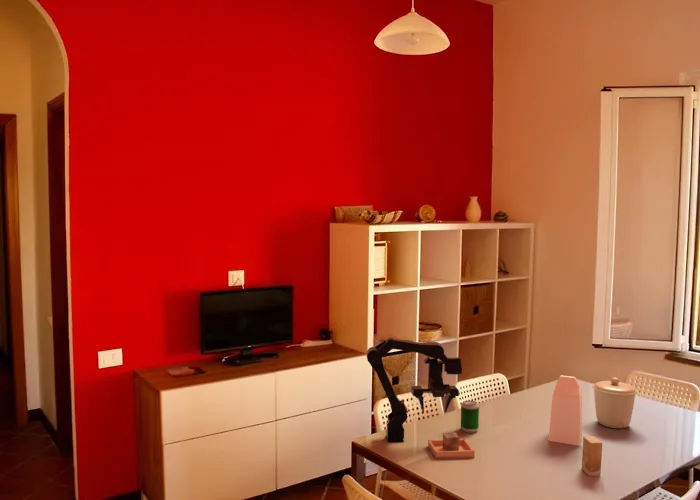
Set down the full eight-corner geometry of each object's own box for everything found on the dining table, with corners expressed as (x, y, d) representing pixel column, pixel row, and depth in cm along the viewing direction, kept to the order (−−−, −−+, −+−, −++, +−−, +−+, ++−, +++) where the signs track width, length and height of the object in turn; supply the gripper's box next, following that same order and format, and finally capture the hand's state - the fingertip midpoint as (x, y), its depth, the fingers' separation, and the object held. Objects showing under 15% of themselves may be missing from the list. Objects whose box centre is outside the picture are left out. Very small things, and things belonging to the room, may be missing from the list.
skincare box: (581, 468, 217) (582, 435, 216) (592, 468, 217) (593, 435, 216) (589, 476, 210) (591, 442, 210) (601, 476, 211) (602, 442, 210)
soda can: (478, 434, 250) (479, 406, 249) (460, 432, 251) (461, 404, 250) (478, 427, 257) (479, 400, 256) (460, 426, 258) (461, 399, 258)
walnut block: (445, 452, 228) (446, 437, 227) (442, 447, 233) (442, 432, 232) (458, 452, 228) (459, 437, 228) (455, 447, 233) (455, 432, 233)
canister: (590, 428, 258) (592, 380, 257) (591, 415, 275) (592, 370, 274) (637, 434, 252) (639, 385, 250) (634, 420, 268) (636, 374, 267)
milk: (581, 436, 249) (584, 375, 247) (579, 445, 238) (582, 382, 237) (551, 431, 254) (553, 371, 252) (548, 440, 244) (550, 378, 242)
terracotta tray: (435, 458, 224) (435, 452, 224) (428, 446, 236) (428, 440, 236) (474, 457, 225) (474, 451, 225) (464, 445, 237) (465, 439, 237)
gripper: (416, 379, 232) (415, 418, 233) (463, 379, 233) (462, 418, 234) (411, 372, 243) (410, 409, 244) (455, 371, 245) (454, 409, 245)
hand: (434, 411), depth 242 cm, fingers open, 9 cm apart
